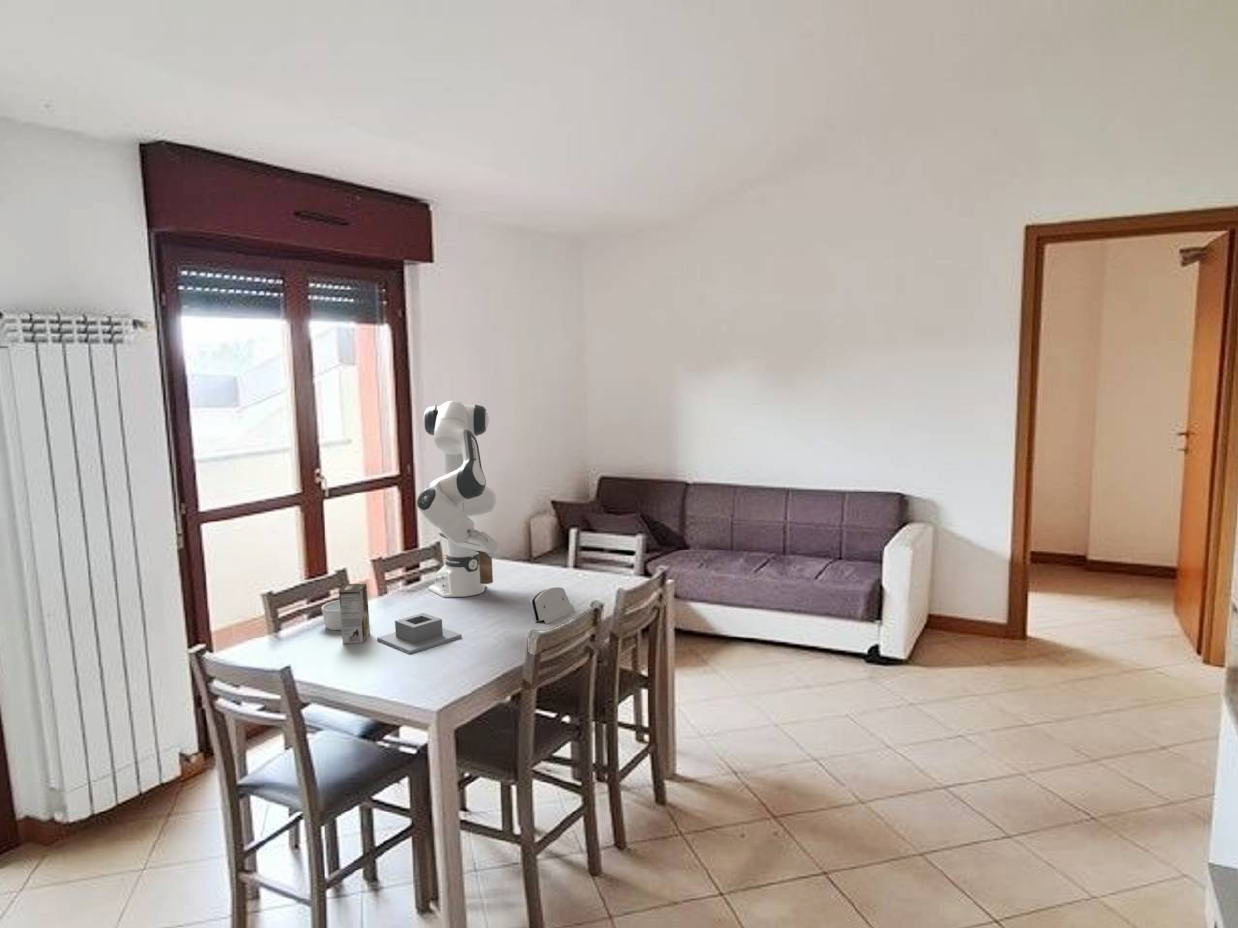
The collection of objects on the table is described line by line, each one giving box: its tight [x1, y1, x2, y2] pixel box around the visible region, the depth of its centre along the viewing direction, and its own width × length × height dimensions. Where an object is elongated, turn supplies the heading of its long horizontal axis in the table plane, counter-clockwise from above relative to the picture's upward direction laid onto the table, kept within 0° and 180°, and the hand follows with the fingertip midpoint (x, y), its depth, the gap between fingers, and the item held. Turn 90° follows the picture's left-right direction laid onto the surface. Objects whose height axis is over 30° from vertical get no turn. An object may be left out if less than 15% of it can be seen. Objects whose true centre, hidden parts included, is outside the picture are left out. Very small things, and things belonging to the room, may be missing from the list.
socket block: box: [376, 612, 463, 654], centre depth 239 cm, size 18×18×6 cm
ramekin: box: [321, 599, 342, 631], centre depth 254 cm, size 13×13×7 cm
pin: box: [479, 551, 494, 585], centre depth 246 cm, size 4×4×12 cm
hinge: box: [529, 586, 576, 625], centre depth 259 cm, size 17×5×10 cm, turn 149°
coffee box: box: [338, 583, 371, 645], centre depth 240 cm, size 9×6×16 cm
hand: (486, 554), depth 246 cm, fingers closed on pin, 4 cm apart
